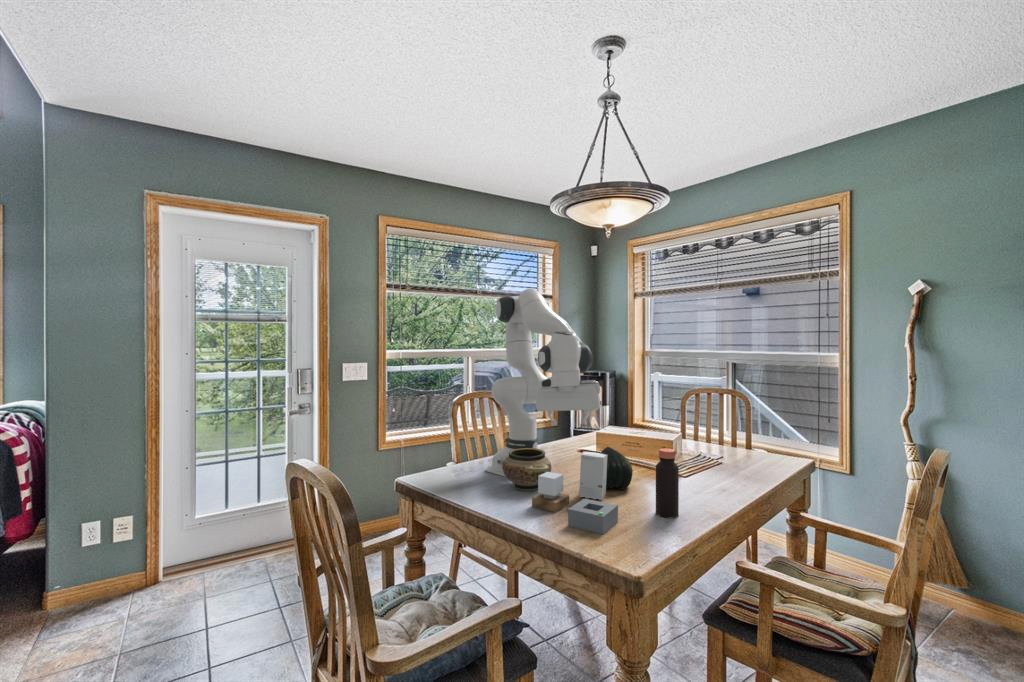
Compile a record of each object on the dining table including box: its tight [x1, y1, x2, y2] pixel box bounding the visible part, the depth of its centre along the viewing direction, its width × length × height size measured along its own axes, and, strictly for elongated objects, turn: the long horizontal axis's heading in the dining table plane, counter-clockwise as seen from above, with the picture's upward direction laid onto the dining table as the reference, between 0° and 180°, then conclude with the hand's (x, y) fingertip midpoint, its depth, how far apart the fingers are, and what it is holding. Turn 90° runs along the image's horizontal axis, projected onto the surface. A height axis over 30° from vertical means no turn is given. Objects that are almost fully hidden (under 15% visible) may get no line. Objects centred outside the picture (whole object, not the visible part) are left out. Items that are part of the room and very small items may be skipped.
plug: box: [537, 471, 564, 500], centre depth 160 cm, size 6×6×10 cm
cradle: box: [531, 492, 570, 513], centre depth 160 cm, size 9×9×3 cm
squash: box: [599, 446, 634, 490], centre depth 181 cm, size 14×15×15 cm
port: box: [567, 498, 619, 535], centre depth 145 cm, size 11×11×5 cm
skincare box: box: [578, 451, 607, 501], centre depth 169 cm, size 8×6×15 cm
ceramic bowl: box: [502, 448, 552, 491], centre depth 181 cm, size 24×18×15 cm
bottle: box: [655, 447, 680, 518], centre depth 153 cm, size 7×7×20 cm
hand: (568, 425), depth 155 cm, fingers open, 8 cm apart
